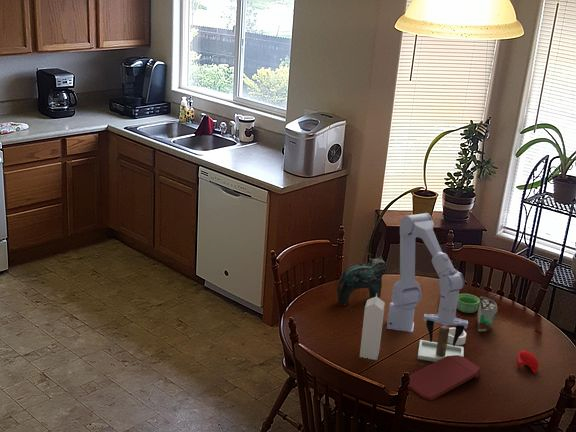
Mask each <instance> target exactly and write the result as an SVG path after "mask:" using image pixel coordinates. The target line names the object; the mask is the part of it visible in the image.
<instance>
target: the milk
mask: <svg viewBox="0 0 576 432" xmlns="http://www.w3.org/2000/svg"><path fill="white" fill-rule="evenodd" d="M385 306H386V302H385V301H383V300H382V299H381V298H380V299H379V298H378V297H377V294H376V297H374V298H371V299H370V298H368V299H367V300H366V303H365V306H364V314H363V322H362V331H361V339H360V341H361V342H360V351H359V358H362V357H363V359H367V358H368V360H373V361H378V358H379V353H380V347H381V341H382V340H381V339H382V331H383V322H384V314H385Z"/></svg>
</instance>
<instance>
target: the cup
mask: <svg viewBox="0 0 576 432" xmlns="http://www.w3.org/2000/svg"><path fill="white" fill-rule="evenodd" d="M448 328H449V335H448V341H447V344H448V345H453V339H454V335H455V330H456V327H448ZM466 339H467V332H466V331H465V330H464V331H463V333H462V334H461V335H460V336H459V338H458V340H457V341H456V344H455V346H463V345H464V344H466Z"/></svg>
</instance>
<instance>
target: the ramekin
mask: <svg viewBox="0 0 576 432" xmlns="http://www.w3.org/2000/svg"><path fill="white" fill-rule="evenodd" d="M479 300H480V297H478V296H476V295H473V294H469V293H459V296H458V302H457V308H456V310H458V311H460V312H462V313H466V314H473V313H475V312H478V308H479Z"/></svg>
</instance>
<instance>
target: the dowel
mask: <svg viewBox="0 0 576 432" xmlns="http://www.w3.org/2000/svg"><path fill="white" fill-rule="evenodd" d="M449 328H450V327H449V326H444V325H440V327H439V328H438V329H439V330H438V337H437V349H436V355H438V356H441V357H443V356H445V354H446V347H447V344H448V343H447V341H448V335H449Z"/></svg>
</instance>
